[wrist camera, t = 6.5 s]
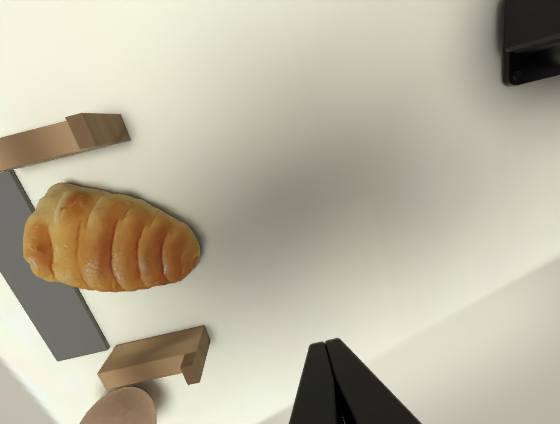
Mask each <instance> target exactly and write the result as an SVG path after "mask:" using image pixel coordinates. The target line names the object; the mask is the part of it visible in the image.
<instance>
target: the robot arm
mask: <svg viewBox="0 0 560 424" xmlns="http://www.w3.org/2000/svg"><path fill="white" fill-rule="evenodd" d="M515 73H516V79H515V80H514V78H513V76H514V74H515ZM556 75H560V0H505V21H504V75H503V79H504V83H505V84H506V85H507V86H515V85H520V84H524V83H528V82H532V81H536V80H540V79H544V78H548V77H552V76H556ZM343 418H344V419H343ZM344 422H345V423H344ZM289 424H422V423H421V422H420V421H419V420H418V419H417V418H416V417H415V416H414V415H413V414H412V413H411V412H410V411H409V410H408V409H407V408H406V407H405V406H404V405H403V404H402V403H401V402H400V401H399V399H398V398H396V396H395V395H393V393H392V392H391V391H390V390H389V389H388V388H387V387H386V386H385V385H384V384H383V383H382V382H381V381H380V380H379V379H378V378H377V377H376V376H375V375H374V374H373V373H372V372H371V370H370V369H369V368H368V367H367V366H366V365H365V364H364V363H363V362H362V361H361V360H360V359H359V358H358V357H357V356H356V355H355V354H354V353H353V352H352V351H351V350H350V349H349V348H348V347H347V346H346V344H345V343H344V342H343V341H342V340H341V339H339V338H335V339H331V340H327V341H325V343H324V342H317V343H313V344H311V345H310V346H309V349H308V353H307V356H306V360H305V364H304V368H303V372H302V375H301V379H300V383H299V387H298V391H297V394H296V398H295V402H294V406H293V410H292V413H291V418H290V421H289Z"/></svg>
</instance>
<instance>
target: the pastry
mask: <svg viewBox="0 0 560 424" xmlns="http://www.w3.org/2000/svg"><path fill="white" fill-rule="evenodd" d="M23 257H24V258H25V260H26V261H27V262H28V263H29V264H30V268H31V270H32V272H33V273H34V274H35V276H37V277H39V278H40V277H41V278H42V279H44V280H46V281H48V282H54V281H57V282H61V283H64V284H67V285H70V286H73V287H77V288H80V289H87V290H97V291H101V292H109V291H110V292H121V291H136V290H139V289H149V288H151V287H154V286H160V285H166V284H170V283H176V282H178V281H181V280H182V279H183V278H184V277H186V276H187V275H188V274H189V273H190V272H191V271H192V270H193V269H194V268H195V267H196V265H197V264H198V262H199V258H200V246H199V243H198V241H197V238H196V236H195V235H194V233H193V231H192V230H191V229H190V228H189V226H188V225H187V224H186V223H184V222H181V221H178V220H177V219H176V218H174V217H171V216H169V215H167V214H166V213H164V212H163V211H162V210H160V209H158V208H155V207H153V206H152V205H151V204H149V203H148V202H146V201H145V200H143V199H135V198H133V197H130V196H128V195H124V194H119V193H117V194H113V193H110V192H108V191H103V190H99V189H94V188H87V187H79V186H76V185H72V184H68V183H58V184H55V185H53V186H52V187H50V188H49V190H48V191H47V193H46V194H45V196H44V197H43V198H41V199H40V200H39V202H38V204H37V207H36V210H35V211H34V212H33V213H32V214H31V215H30V217H29V218H28V220H27V222H26V224H25V228H24V236H23Z"/></svg>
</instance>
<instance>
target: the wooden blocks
mask: <svg viewBox="0 0 560 424" xmlns="http://www.w3.org/2000/svg"><path fill="white" fill-rule="evenodd" d="M65 118H66V120H67V121H64V122H60V123H56V124H52V125H49V126H45V127H41V128H37V129H33V130H29V131H25V132H21V133H17V134H13V135H10V136H6V137H2V138H0V172H2V171H7V170H12V169H17V168H22V167H26V166H30V165H34V164H38V163H42V162H46V161H50V160H53V159H57V158H61V157H65V156H69V155H73V154H77V153H81V152H85V151H89V150H93V149H97V148H101V147H105V146H109V145H113V144H117V143H121V142H125V141H129V140H130V137H129V135H128V132H127V130H126V127H125V125H124V122H123V120H122V117H121V115H120V114H96V113H80V114H76V115H72V116H68V117H65ZM209 344H210V339H209V336H208V334H207V331H206V329H205V326H200V327H196V328H191V329H187V330H183V331H178V332H174V333H169V334H165V335H161V336H156V337H152V338H147V339H143V340H139V341H134V342H130V343H125V344H121V345H117V346H115V348H114V349H113V351H112V352H111V354H110V355H109V357H108V358H107V360H106V361H105V363H104V364H103V366H102V367H101V369H100V370H99V372H98V373H97V374H98V376H99V378H100V379H101V381H102V383H103V385H104V386H105V388H106V390H107V389H112V388H116V387H121V386H125V385H130V384H134V383H139V382H143V381H148V380H152V379H157V378H162V377H166V376H171V375H175V374H180V373H183V375H184V378H185V380H186V382H187V384H188V385H190V384H195V383H199V382H200V379H201V376H202V372H203V368H204V364H205V360H206V356H207V352H208V348H209Z"/></svg>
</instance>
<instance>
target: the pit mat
mask: <svg viewBox="0 0 560 424" xmlns="http://www.w3.org/2000/svg"><path fill="white" fill-rule="evenodd" d="M34 211H35V210H34V208H33V206H32V204H31V202H30V200H29V199H28V197H27V195H26V193H25V191H24V189H23V188H22V186H21V184H20V182H19V180H18V179H17V177H16V175H15V173H14V171H13V170H9V171H5V172H1V173H0V272H1V274H2V275H3V277H4V278H5V280H6V282H7V283H8V285H9V286H10V288H11V289H12V291H13V293H14V294H15V296H16V297H17V299H18V300H19V302H20V304H21V305H22V307H23V308H24V310H25V311H26V313H27V315H28V316H29V318H30V319H31V321H32V322H33V324H34V326H35V327H36V329H37V330H38V332H39V333H40V335H41V337H42V338H43V340H44V341H45V343H46V344H47V346H48V348H49V349H50V351H51V352H52V354H53V355H54V357H55V359H56V360H57V361H62V360H66V359H71V358H75V357H79V356H84V355H88V354H93V353H97V352H102V351H106V350H108V349H109V345H108V343H107V341H106V339H105V338H104V336H103V334H102V332H101V330H100V328H99V327H98V325H97V323H96V321H95V319H94V317H93V316H92V314H91V312H90V310H89V308H88V306H87V305H86V303H85V301H84V299H83V297H82V295H81V294H80V292H79V290H78V288H77V287H73V286H70V285H67V284H64V283H61V282H57V281H54V282H48V281H46V280H44V279H42V278H41V277H40V278H39V277H37V276H35V274H34V273H33V272H32V270H31V268H30V264H29V263H28V262H27V261H26V260H25V258H24V257H23V236H24V228H25V224H26V222H27V220H28V218H29V217H30V215H31V214H32V213H33V212H34Z"/></svg>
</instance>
